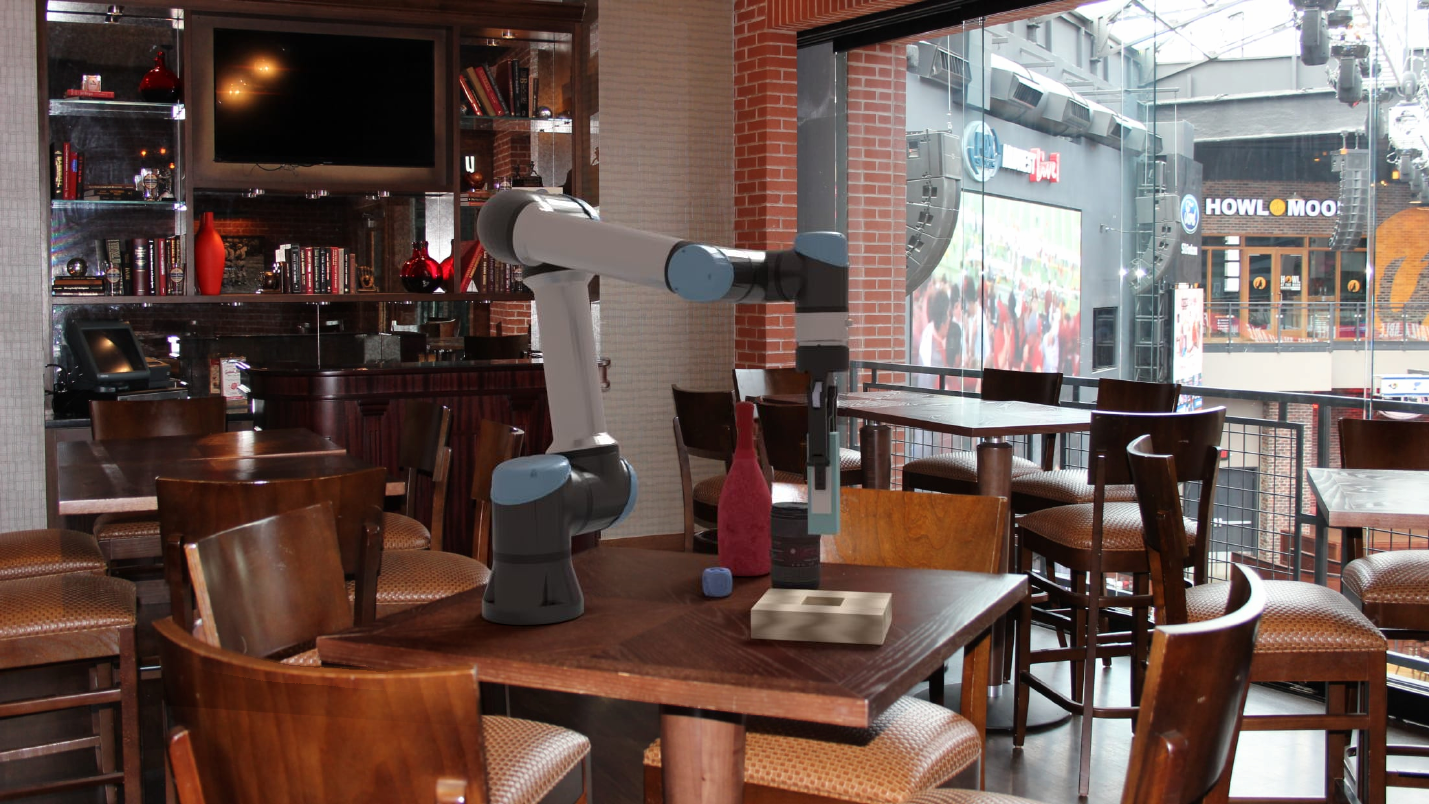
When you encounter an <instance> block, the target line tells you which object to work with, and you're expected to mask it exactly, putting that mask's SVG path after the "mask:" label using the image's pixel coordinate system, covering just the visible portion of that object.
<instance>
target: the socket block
mask: <svg viewBox="0 0 1429 804" xmlns="http://www.w3.org/2000/svg"><path fill="white" fill-rule="evenodd" d="M892 595H893V593H891V592H868V591H867V592H866V591H863V592H862V591H847V590H845V591H844V590H843V591H842V590H819V589H818V590H795V589H772V588H769V589H768V590H766V592H765V593H764V594H763V595H762V596H761V598H760V599H759V600H758V601H757V602H756V603H755V604H754V605H753V606H752V607H751V609H750V638H751V639H758V640H760V639H761V640H778V641H798V642H799V641H800V642H817V643H818V642H821V643H841V644H842V643H843V644H844V643H845V644H859V645H861V644H862V645H883V644H884V643H885V639H886V637H887V634H888V632H889V630H890V629H889V628H890V626H891V624H892V621H893V616H892V615H893V614H892V613H893V605H892V604H893V601H892V600H893V596H892Z"/></svg>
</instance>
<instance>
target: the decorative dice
mask: <svg viewBox="0 0 1429 804" xmlns="http://www.w3.org/2000/svg"><path fill="white" fill-rule="evenodd" d="M702 590H703V593H704V595H705V596H707V597H713V598H718V597H727V596H729V595H730V594H731V593H732V591H733V576H732V575H731V572H730V570H729V569H727V568H719V567H710V568H706V569H705V570H704V571H703V572H702Z"/></svg>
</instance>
